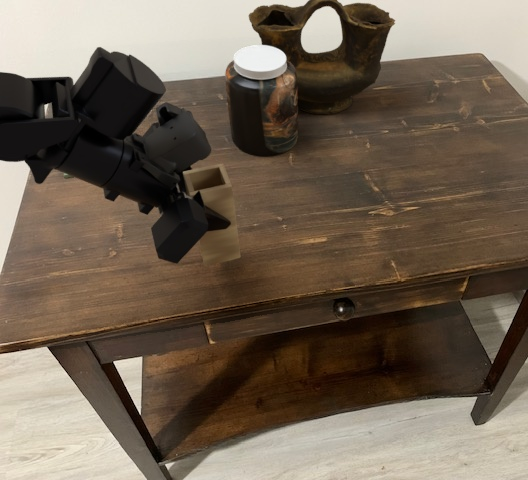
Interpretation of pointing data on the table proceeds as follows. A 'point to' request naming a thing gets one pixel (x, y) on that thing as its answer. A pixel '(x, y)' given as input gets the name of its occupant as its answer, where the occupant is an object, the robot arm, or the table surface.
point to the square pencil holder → (221, 201)
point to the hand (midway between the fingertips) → (224, 212)
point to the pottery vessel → (331, 62)
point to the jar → (262, 100)
